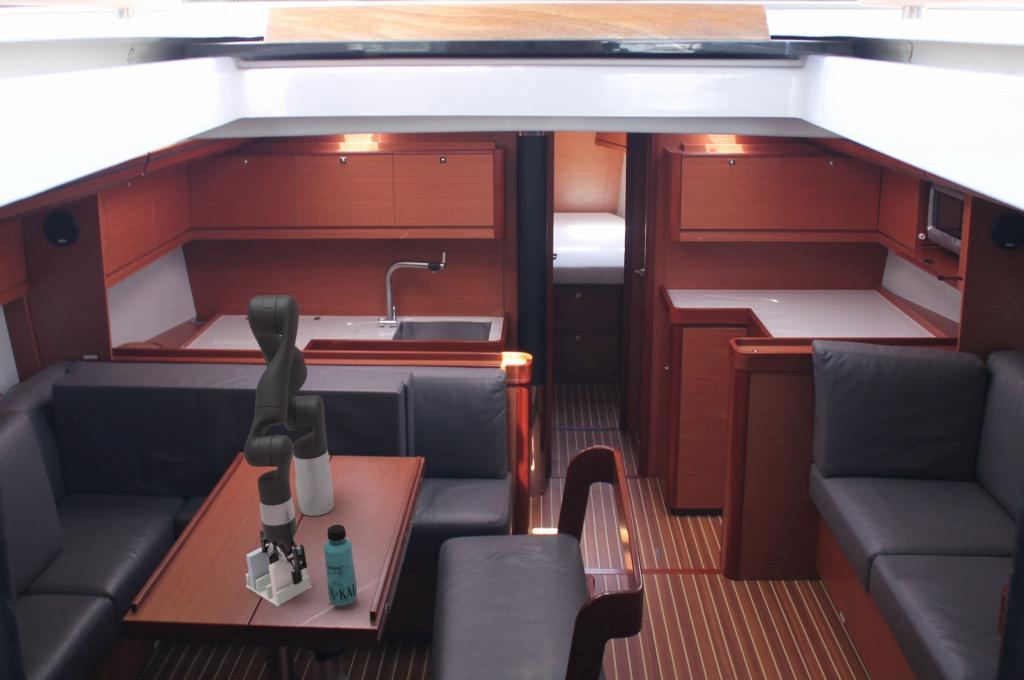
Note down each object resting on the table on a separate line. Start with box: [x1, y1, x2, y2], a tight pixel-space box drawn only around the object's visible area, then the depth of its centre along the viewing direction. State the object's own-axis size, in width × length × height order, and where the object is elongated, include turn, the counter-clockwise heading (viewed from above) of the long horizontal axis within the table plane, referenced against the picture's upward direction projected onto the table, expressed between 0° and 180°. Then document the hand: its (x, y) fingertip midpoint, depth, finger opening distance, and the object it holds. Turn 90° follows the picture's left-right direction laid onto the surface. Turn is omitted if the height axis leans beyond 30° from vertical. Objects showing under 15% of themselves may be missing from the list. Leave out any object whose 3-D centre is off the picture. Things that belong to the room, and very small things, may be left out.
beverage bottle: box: [323, 524, 358, 607], centre depth 221 cm, size 6×7×20 cm
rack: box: [245, 572, 313, 607], centre depth 230 cm, size 10×13×4 cm
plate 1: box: [245, 543, 283, 590], centre depth 231 cm, size 2×9×9 cm, turn 138°
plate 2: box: [269, 554, 308, 601], centre depth 227 cm, size 2×9×9 cm, turn 139°
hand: (286, 576), depth 226 cm, fingers open, 8 cm apart
